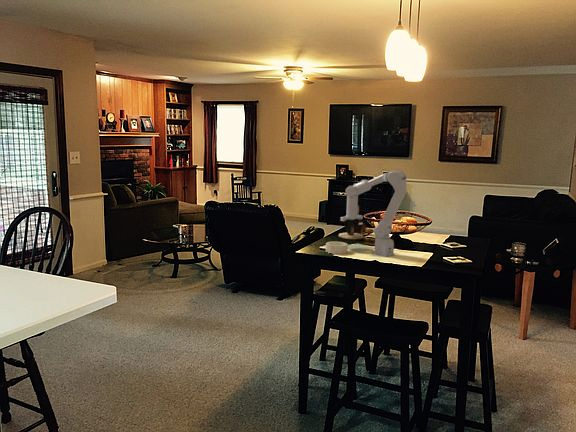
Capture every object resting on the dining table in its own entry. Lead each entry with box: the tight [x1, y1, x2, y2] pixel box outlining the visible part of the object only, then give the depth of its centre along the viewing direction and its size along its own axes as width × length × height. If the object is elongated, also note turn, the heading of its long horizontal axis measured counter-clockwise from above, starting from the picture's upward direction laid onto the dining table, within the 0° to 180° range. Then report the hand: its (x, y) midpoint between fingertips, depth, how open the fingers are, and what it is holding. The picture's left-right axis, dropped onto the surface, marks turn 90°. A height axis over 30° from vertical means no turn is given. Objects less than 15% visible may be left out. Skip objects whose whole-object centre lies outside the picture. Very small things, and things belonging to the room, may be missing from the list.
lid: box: [338, 227, 364, 240], centre depth 264 cm, size 13×13×5 cm
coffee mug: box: [349, 223, 363, 242], centre depth 291 cm, size 12×9×10 cm
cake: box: [357, 205, 366, 235], centre depth 309 cm, size 11×9×18 cm
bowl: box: [325, 241, 349, 255], centre depth 258 cm, size 11×11×4 cm
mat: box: [347, 243, 375, 253], centre depth 269 cm, size 15×15×1 cm
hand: (351, 233), depth 264 cm, fingers closed on lid, 3 cm apart
